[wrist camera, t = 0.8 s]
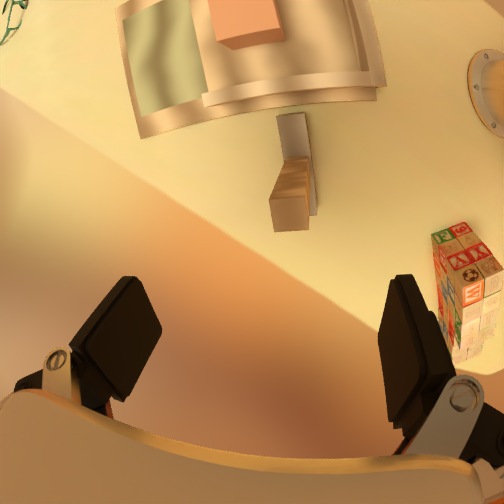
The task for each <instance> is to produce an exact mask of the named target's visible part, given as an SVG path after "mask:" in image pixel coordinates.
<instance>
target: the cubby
mask: <svg viewBox="0 0 504 504" xmlns="http://www.w3.org/2000/svg"><path fill="white" fill-rule="evenodd" d="M276 4H277V7H278V11H279V15H280V19H281V23H282V27H283V31H284V35H285V39H286V41H280V42H273V43H267V44H261V45H256V46H251V47H246V48H242V49H237V50H232V49H230V48H228V47H227V46H225V45H223V44H221V43H219V42H217V41H216V36H215V32H214V27H213V23H212V18H211V14H210V10H209V5H208V1H207V0H129V1H127V2H126V3H124V4H122V5H120V6H119V7H117V8H115V13H116V21H117V28H118V34H119V40H120V46H121V52H122V58H123V63H124V68H125V73H126V78H127V83H128V88H129V92H130V97H131V101H132V106H133V110H134V114H135V118H136V122H137V126H138V130H139V134H140V138H141V139H143V138H147V137H150V136H153V135H156V134H159V133H162V132H166V131H169V130H172V129H176V128H180V127H183V126H187V125H191V124H195V123H199V122H203V121H207V120H211V119H215V118H220V117H224V116H229V115H234V114H239V113H245V112H250V111H256V110H262V109H269V108H275V107H283V106H291V105H299V104H309V103H321V102H336V101H364V100H377V98H376V91H375V88H378V87H385V86H387V85H386V79H385V73H384V67H383V62H382V56H381V52H380V47H379V42H378V38H377V34H376V30H375V26H374V22H373V18H372V15H371V11H370V8H369V5H368V1H367V0H276Z"/></svg>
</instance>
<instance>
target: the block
mask: <svg viewBox="0 0 504 504" xmlns="http://www.w3.org/2000/svg"><path fill="white" fill-rule="evenodd" d="M207 1H208V5H209V10H210V14H211V18H212V23H213V27H214V32H215V36H216V41H217V42H219V43H221V44H223V45H225V46H227V47H228V48H230V49H232V50H237V49H242V48H246V47H251V46H256V45H261V44H267V43H273V42H280V41H286V39H285V35H284V31H283V27H282V23H281V19H280V15H279V11H278V7H277V4H276V0H207Z"/></svg>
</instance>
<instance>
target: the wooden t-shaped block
mask: <svg viewBox="0 0 504 504" xmlns="http://www.w3.org/2000/svg"><path fill="white" fill-rule="evenodd" d="M276 118H277V123H278V129H279V135H280V140H281V146H282V152H283V158H284V165H283V167H282V169H281V172H280V174H279V177H278V179H277V182H276V184H275V186H274V189H273V191H272V194H271V196H270V199H269V204H270V209H271V215H272V221H273V227H274V232H284V231H299V230H309V216H315V215H317V201H316V191H315V182H314V174H313V165H312V158H311V150H310V143H309V136H308V129H307V123H306V117H305V112H301V113H292V114H284V115H278V116H276Z"/></svg>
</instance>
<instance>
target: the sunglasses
mask: <svg viewBox="0 0 504 504" xmlns="http://www.w3.org/2000/svg"><path fill="white" fill-rule="evenodd" d="M8 1H9V0H7V1H6V2H5V5H4V8H3V12H2V14H3V13H4V11H5V8H6V5H7V3H8ZM23 1H25V0H21V1H14V0H12V4H11V8H10V13H11V11H12V6H13V5H14V4H19V5H20V6H21V8H22V9H24V8H25V9H26V8H27V6H26V5H24V4H23V3H22V2H23ZM16 2H20V3H16ZM10 13H9V17H8V25H9V21H10ZM21 23H22V22H21ZM21 23H20V24H19V26H18V27H16V28H8V25H7V31H6V33H5V35H4V37H3V39H2V41H1V42H0V45H1V44H2V43H3V41H4V39H5V38H6V37H7V36H8V34H9V32H10V30H15V29H18V28H19V27H20V25H21Z"/></svg>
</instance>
